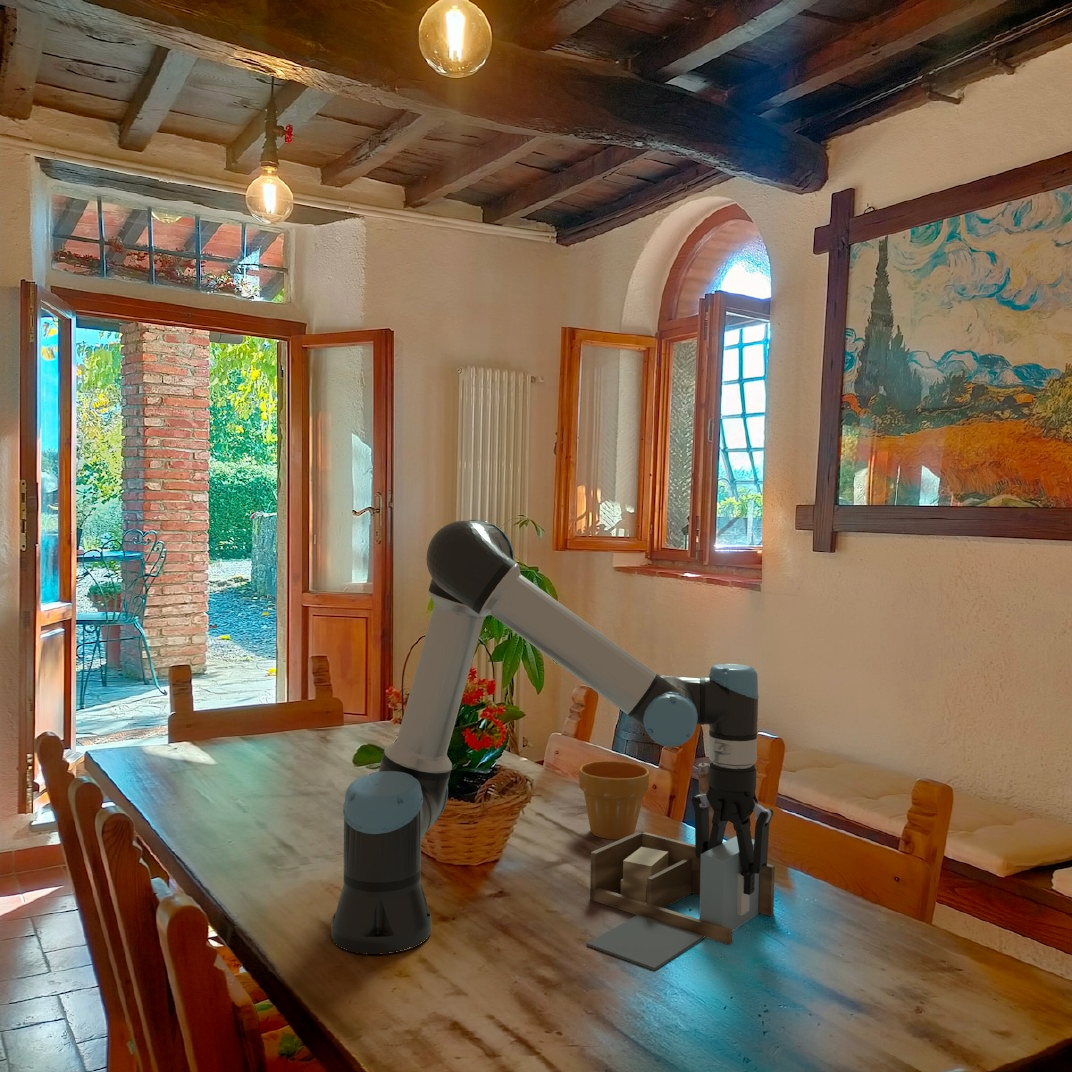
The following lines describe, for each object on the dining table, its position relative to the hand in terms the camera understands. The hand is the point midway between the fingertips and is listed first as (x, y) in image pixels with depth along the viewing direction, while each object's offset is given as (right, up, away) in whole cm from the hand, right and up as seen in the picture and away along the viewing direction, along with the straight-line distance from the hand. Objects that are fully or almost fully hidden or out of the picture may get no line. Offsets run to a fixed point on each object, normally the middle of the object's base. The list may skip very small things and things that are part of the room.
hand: (729, 908), depth 154 cm
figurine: (+2, -2, +22) cm, 22 cm away
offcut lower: (-12, -2, +10) cm, 16 cm away
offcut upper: (-12, +1, +10) cm, 16 cm away
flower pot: (-15, -1, +43) cm, 46 cm away
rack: (-7, -2, +6) cm, 9 cm away
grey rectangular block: (0, -2, 0) cm, 2 cm away
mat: (-14, -2, -8) cm, 16 cm away
